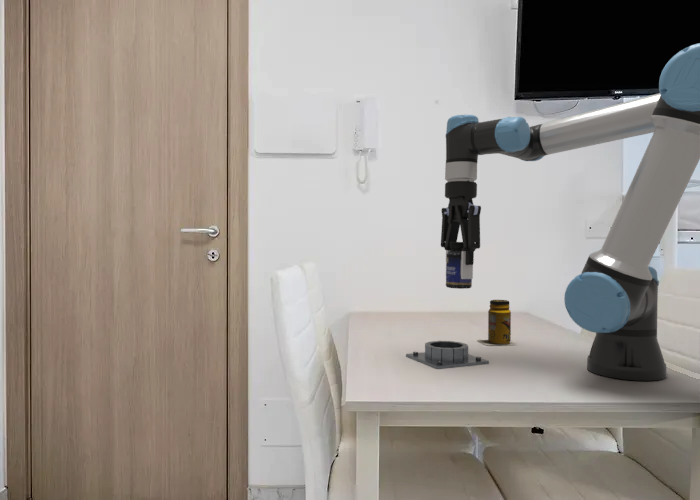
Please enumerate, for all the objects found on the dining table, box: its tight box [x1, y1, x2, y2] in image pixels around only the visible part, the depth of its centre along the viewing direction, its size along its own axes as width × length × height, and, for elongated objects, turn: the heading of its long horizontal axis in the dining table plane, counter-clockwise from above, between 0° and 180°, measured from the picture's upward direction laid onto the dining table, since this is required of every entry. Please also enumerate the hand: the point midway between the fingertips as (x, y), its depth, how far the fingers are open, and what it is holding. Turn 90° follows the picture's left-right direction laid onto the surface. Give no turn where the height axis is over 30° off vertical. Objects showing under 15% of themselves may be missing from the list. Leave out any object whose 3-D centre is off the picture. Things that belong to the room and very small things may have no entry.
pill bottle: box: [445, 241, 473, 290], centre depth 125 cm, size 6×6×11 cm
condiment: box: [477, 299, 517, 346], centre depth 146 cm, size 7×8×12 cm
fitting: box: [405, 340, 490, 370], centre depth 124 cm, size 14×14×4 cm
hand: (458, 277), depth 126 cm, fingers closed on pill bottle, 6 cm apart
